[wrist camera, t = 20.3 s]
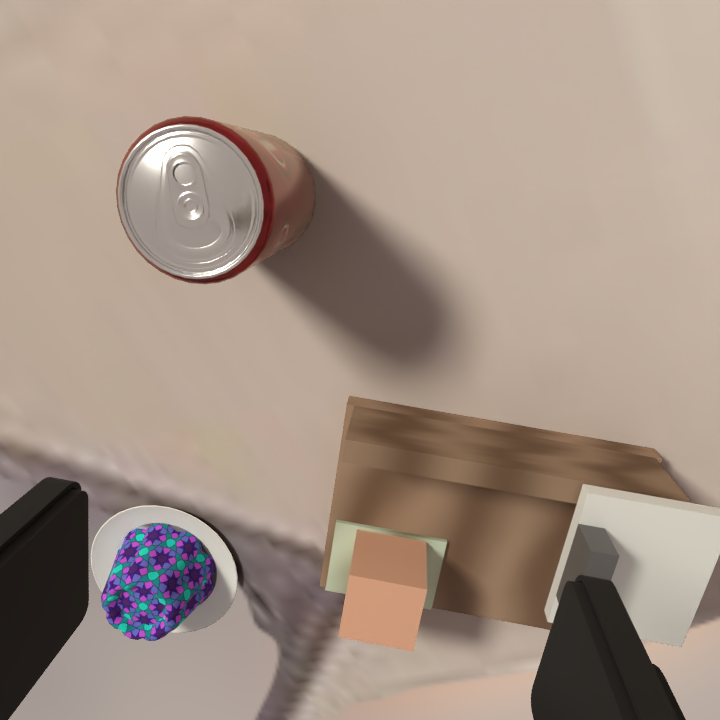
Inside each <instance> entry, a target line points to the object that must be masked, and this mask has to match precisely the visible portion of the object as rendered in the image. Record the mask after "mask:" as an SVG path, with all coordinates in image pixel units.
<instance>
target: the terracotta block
mask: <svg viewBox="0 0 720 720" xmlns="http://www.w3.org/2000/svg"><path fill="white" fill-rule="evenodd" d="M426 593H427V552H426V542H425V541H419V540H414V539H408V538H403V537H398V536H392V535H387V534H381V533H376V532H371V531H365V530H360V529H357V532H356V538H355V544H354V550H353V555H352V561H351V567H350V573H349V579H348V584H347V590H346V596H345V602H344V608H343V614H342V619H341V625H340V631H339V637H341V638H347V639H352V640H357V641H362V642H367V643H372V644H378V645H383V646H388V647H393V648H398V649H403V650H409V651H414V646H415V642H416V637H417V633H418V628H419V624H420V620H421V615H422V611H423V606H424V602H425V598H426Z"/></svg>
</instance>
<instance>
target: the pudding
mask: <svg viewBox="0 0 720 720" xmlns="http://www.w3.org/2000/svg"><path fill="white" fill-rule="evenodd" d="M149 523H159V524H152V525H151V526H150V527H149V528H146V527H143V526H142V525H143V524H149ZM162 523H166V524H171V525H175V526H178V527H181V528H183V529H185V530H187V531H189V532H190V533H192V534H193V535H192V534H190V533H188V532H176V531H175V530H174V529H173V528H172V527H171V526H170V525H166V524H162ZM194 535H195V536H196V537H197V538H198V539H200V540H201V541H202V542H203V543H204V544H205V546H206V547H207V548H208V549H209V551H210V553H211V554H212V556H213V559H214V561H215V563H214V561H213V559H212V558H211V556H210V555H208V554H206V553H204V552H203V551H202V546H201V542H200V541H199V540H198V539H197V538H196V537H195V536H194ZM91 567H92V571H93V574H94V578H95V580H96V582H97V584H98V586H99V589H100V590H101V592H102V596H101V603H102V607H103V609H104V610H105V611H106V612H107V615H106V618H107V620H108V622H109V624H111V625H112V626H113V627H114V628H116V629H119V630H121V631H122V632H123V634H124V635H125V636H127V637H129V638H131V639H135V640H138V639H141V638H144V639H146V640H148V641H155V640H158V639H160V638H162V637H164V636H166V635H167V634H168V633H169V632H171V633H184V632H191V631H196V630H199V629H202V628H205V627H207V626H209V625H211V624H213V623H215V622H216V621H217V620H219V619H220V618H221V617H222V616H223V615H224V614H225V613H226V612H227V610H228V609H229V608H230V606H231V604H232V602H233V600H234V598H235V595H236V591H237V579H238V576H237V571H236V565H235V563H234V560H233V557H232V555H231V553H230V551H229V549H228V548H227V546H226V544H225V543H224V542H223V540H222V539H221V538H220V537H219V536H218V534H217V533H216V532H214V531H213V530H212V529H211V528H210V527H209V526H208V525H207V524H205V523H203V522H202V521H200V520H199V519H197V518H196V517H194V516H192V515H190V514H187V513H185V512H183V511H180V510H177V509H173V508H170V507H163V506H156V505H154V506H139V507H133V508H129V509H127V510H124V511H122V512H119V513H118V514H116V515H114V516H113V517H111V518H110V519H109V520H108V521H107V522H106V523H104V525H103V526H102V527H101V528H100V530H99V531H98V533H97V534H96V536H95V539H94V542H93V544H92V551H91Z"/></svg>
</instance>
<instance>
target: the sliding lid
mask: <svg viewBox="0 0 720 720" xmlns="http://www.w3.org/2000/svg"><path fill="white" fill-rule="evenodd" d="M719 555H720V508H717V507H711V506H706V505H700V504H694V503H689V502H683V501H677V500H672V499H666V498H660V497H655V496H649V495H643V494H638V493H632V492H626V491H621V490H615V489H609V488H604V487H598V486H592V485H587V484H583V485H582V489H581V492H580V495H579V499H578V502H577V505H576V508H575V512H574V515H573V518H572V521H571V525H570V528H569V531H568V534H567V538H566V541H565V544H564V547H563V551H562V554H561V557H560V560H559V564H558V567H557V570H556V573H555V577H554V580H553V583H552V586H551V590H550V593H549V596H548V599H547V603H546V606H545V609H544V611H545V615H546V618H547V622H550V623H553V621H554V617H555V614H556V611H557V608H558V605H559V602H560V598H561V595H562V592H563V589H564V586H565V584H566V582H567V581H574V582H575V579H576V578H577V577H578V575H585V576H591V577H596V578H602V579H607V580H610V581H612V582H613V583H614V585H615V587H616V589H617V591H618V593H619V595H620V597H621V600H622V602H623V604H624V606H625V608H626V610H627V612H628V614H629V616H630V619H631V621H632V623H633V625H634V627H635V629H636V631H637V633H638V635H639V637H640V639H641V640H646V641H651V642H656V643H662V644H667V645H672V646H678V647H682V645H683V643H684V640H685V638H686V635H687V633H688V630H689V628H690V626H691V623H692V621H693V618H694V616H695V613H696V611H697V609H698V606H699V604H700V601H701V599H702V596H703V594H704V591H705V589H706V587H707V584H708V582H709V579H710V577H711V574H712V572H713V570H714V567H715V565H716V562H717V560H718V557H719Z"/></svg>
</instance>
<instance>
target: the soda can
mask: <svg viewBox="0 0 720 720" xmlns="http://www.w3.org/2000/svg"><path fill="white" fill-rule="evenodd" d="M116 195H117V208H118V212H119V215H120V219H121V223H122V225H123V228H124V230H125V232H126V234H127V236H128V238H129V240H130V241H131V243H132V244H133V246H134V247H135V249H136V250H137V251H138V252H139V254H140V255H141V256H142V257H143V258H144V259H145V260H146V261H147V262H148V263H150V264H151V265H152V266H154V267H155V268H156V269H158V270H159V271H160V272H162V273H164V274H166V275H168V276H170V277H172V278H174V279H177V280H181V281H184V282H188V283H195V284H211V283H219V282H222V281H225V280H228V279H231V278H233V277H235V276H237V275H239V274H241V273H242V272H244V271H246V270H248V269H249V268H251V267H253V266H255V265H256V264H258V263H260V262H262V261H263V260H265V259H267V258H269V257H271V256H272V255H274V254H276V253H278V252H279V251H281V250H283V249H285V248H286V247H288V246H289V245H291V244H293V243H294V242H295V241H296V240H297V239H298V238H299V237H300V236H301V235H302V234H303V232H304V231H305V230H306V228H307V227H308V224H309V222H310V220H311V218H312V215H313V210H314V206H315V189H314V182H313V179H312V176H311V173H310V170H309V168H308V166H307V165H306V163H305V161H304V159H303V158H302V157H301V156H300V154H299V153H298V152H297V151H296V150H295V149H294V148H293V147H292V146H290V145H289V144H288V143H287V142H285V141H283V140H281V139H279V138H277V137H275V136H272V135H269V134H265V133H261V132H257V131H253V130H249V129H245V128H242V127H238V126H234V125H230V124H226V123H222V122H218V121H214V120H210V119H206V118H202V117H189V116H183V117H177V118H171V119H167V120H165V121H162V122H160V123H158V124H155V125H153V126H152V127H151V128H149V129H148V130H146V131H145V132H144V133H142V134H141V135H140V136H139V137H138V138H137V140H136V141H135V142H134V143H133V144H132V145H131V146H130V148H129V150H128V152H127V154H126V155H125V157H124V159H123V161H122V164H121V167H120V170H119V174H118V180H117V188H116Z"/></svg>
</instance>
